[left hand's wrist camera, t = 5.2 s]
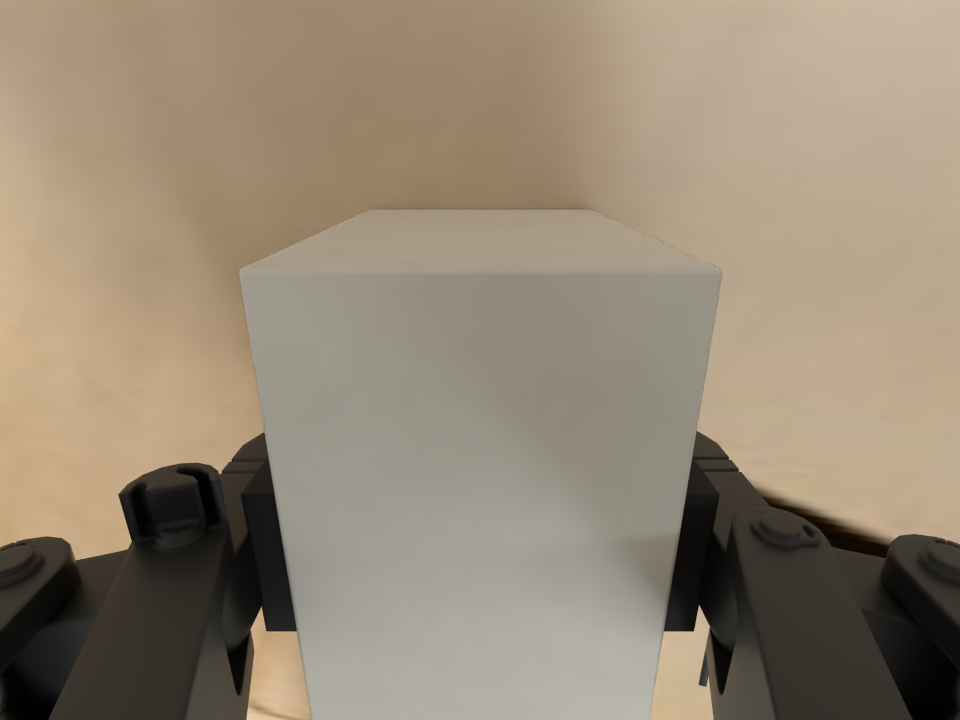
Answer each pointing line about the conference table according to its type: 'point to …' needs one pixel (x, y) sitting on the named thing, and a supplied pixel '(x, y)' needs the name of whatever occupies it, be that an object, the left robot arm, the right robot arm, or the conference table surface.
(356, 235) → the post
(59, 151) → the conference table surface
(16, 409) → the conference table surface
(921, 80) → the conference table surface
